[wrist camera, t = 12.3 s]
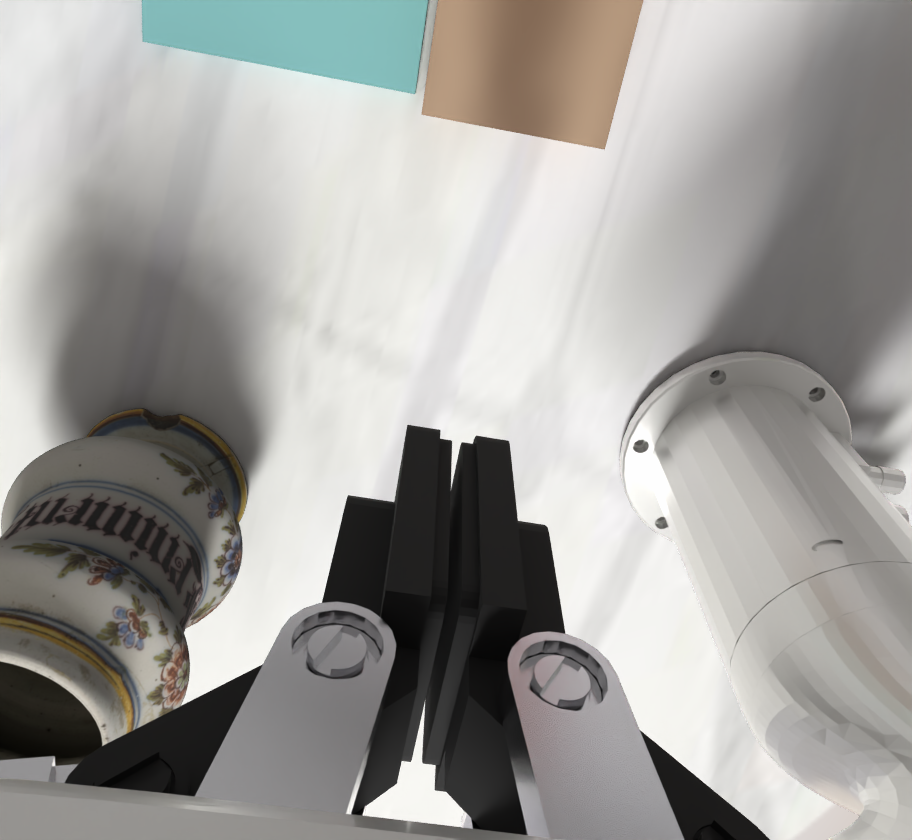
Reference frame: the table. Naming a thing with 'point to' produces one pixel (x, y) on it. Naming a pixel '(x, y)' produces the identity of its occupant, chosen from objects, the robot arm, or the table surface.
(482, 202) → the table surface
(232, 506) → the apothecary jar
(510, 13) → the board
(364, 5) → the teal mat
